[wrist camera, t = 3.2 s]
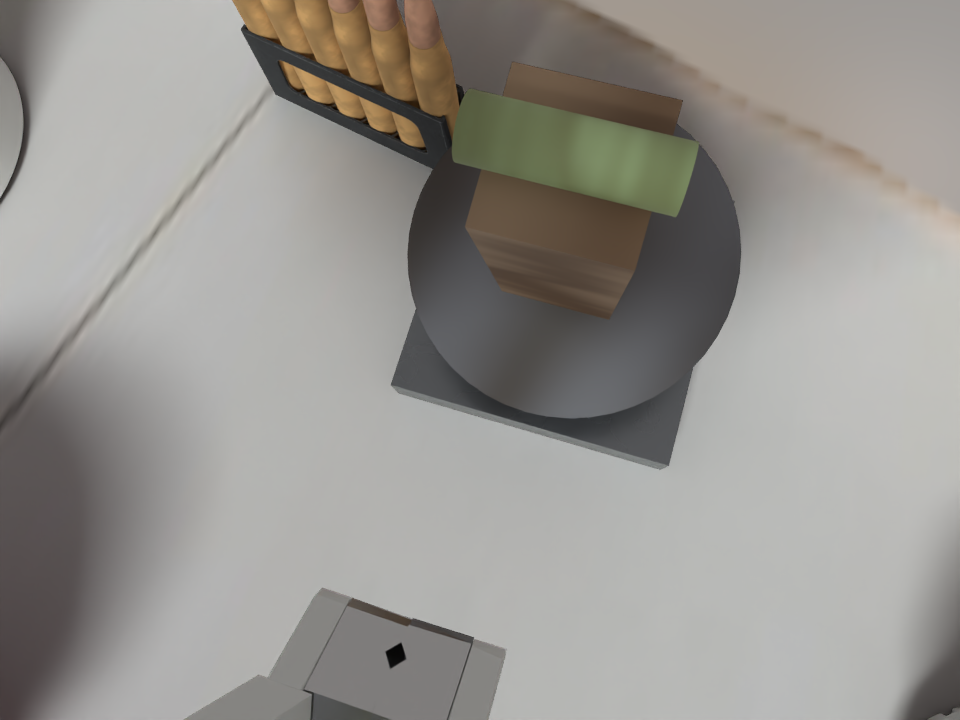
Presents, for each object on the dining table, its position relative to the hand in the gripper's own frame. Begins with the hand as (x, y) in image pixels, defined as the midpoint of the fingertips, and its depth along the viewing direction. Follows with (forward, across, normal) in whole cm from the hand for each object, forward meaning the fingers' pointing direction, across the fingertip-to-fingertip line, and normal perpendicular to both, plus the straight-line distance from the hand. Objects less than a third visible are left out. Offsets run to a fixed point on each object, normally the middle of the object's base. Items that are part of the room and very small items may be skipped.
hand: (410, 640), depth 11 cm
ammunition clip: (+28, +12, +1) cm, 30 cm away
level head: (+19, 0, +2) cm, 19 cm away
